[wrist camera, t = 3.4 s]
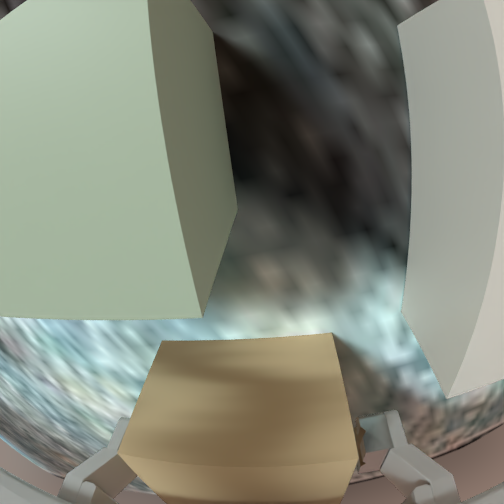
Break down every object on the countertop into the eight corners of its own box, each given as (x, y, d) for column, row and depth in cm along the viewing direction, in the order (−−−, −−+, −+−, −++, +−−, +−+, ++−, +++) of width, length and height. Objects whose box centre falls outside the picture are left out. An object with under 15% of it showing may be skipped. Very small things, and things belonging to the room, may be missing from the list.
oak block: (199, 428, 13) (181, 516, 9) (163, 338, 11) (117, 453, 6) (323, 425, 13) (333, 518, 8) (331, 330, 10) (358, 458, 6)
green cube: (87, 229, 9) (-15, 315, 4) (59, 82, 7) (-68, 86, 2) (238, 208, 8) (202, 318, 4) (213, 33, 6) (145, -58, 2)
